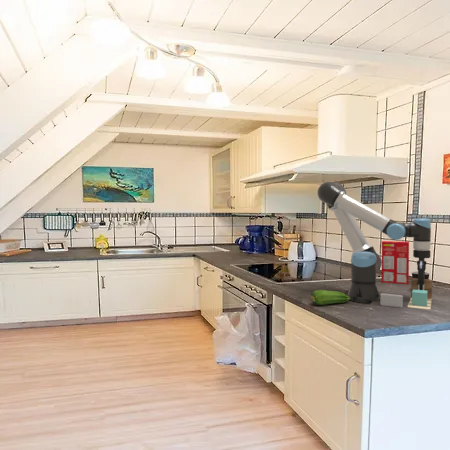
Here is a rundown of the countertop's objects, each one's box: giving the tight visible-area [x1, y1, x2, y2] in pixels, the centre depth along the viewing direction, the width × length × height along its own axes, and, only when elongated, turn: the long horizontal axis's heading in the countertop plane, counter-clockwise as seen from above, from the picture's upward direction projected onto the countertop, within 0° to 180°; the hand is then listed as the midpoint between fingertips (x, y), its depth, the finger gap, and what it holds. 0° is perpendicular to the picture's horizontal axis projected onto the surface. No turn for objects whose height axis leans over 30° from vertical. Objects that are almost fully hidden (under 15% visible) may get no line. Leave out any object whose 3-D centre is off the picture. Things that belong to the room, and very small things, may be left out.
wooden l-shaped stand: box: [407, 277, 433, 311], centre depth 170 cm, size 24×9×10 cm, turn 149°
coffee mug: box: [411, 270, 430, 279], centre depth 196 cm, size 12×9×10 cm
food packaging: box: [381, 240, 410, 285], centre depth 219 cm, size 15×5×25 cm, turn 65°
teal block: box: [412, 289, 427, 306], centre depth 167 cm, size 6×6×6 cm
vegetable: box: [310, 289, 350, 306], centre depth 174 cm, size 7×7×20 cm
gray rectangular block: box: [380, 292, 404, 309], centre depth 158 cm, size 20×9×6 cm, turn 149°
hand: (421, 296), depth 179 cm, fingers closed on wooden l-shaped stand, 3 cm apart
